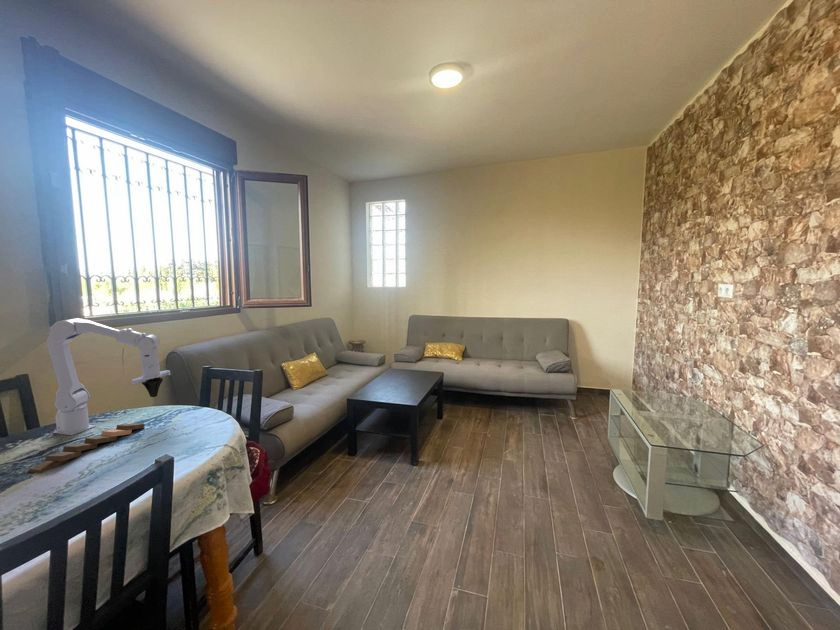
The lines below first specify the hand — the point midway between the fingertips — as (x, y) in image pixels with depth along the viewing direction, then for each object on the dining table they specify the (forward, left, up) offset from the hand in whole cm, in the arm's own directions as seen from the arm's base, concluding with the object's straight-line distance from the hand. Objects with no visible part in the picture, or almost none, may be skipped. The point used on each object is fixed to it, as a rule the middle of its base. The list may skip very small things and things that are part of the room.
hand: (153, 396), depth 139 cm
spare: (0, -12, -10) cm, 15 cm away
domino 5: (0, -7, -10) cm, 12 cm away
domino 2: (+1, -29, -9) cm, 30 cm away
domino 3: (0, -23, -10) cm, 25 cm away
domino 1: (+1, -31, -10) cm, 33 cm away
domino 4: (0, -17, -10) cm, 19 cm away
